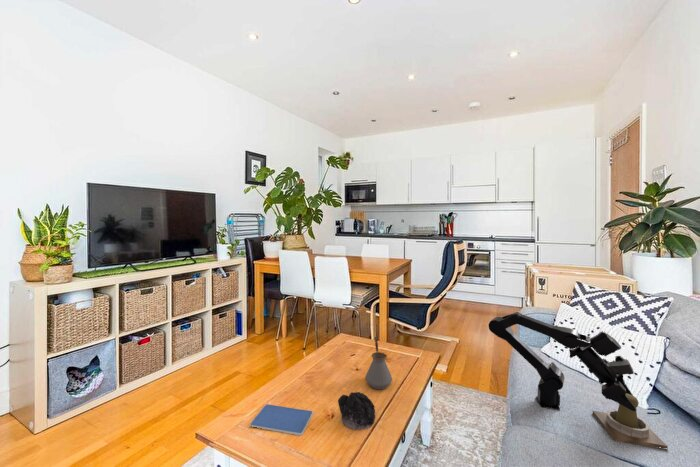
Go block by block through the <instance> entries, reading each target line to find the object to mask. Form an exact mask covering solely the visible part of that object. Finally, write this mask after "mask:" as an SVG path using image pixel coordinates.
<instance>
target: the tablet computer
mask: <svg viewBox="0 0 700 467" xmlns="http://www.w3.org/2000/svg"><path fill="white" fill-rule="evenodd" d="M313 416H314V411H313V410H308V409H301V408H295V407H287V406H281V405H277V404H276V405H275V404H274V405H273V404H265V405H263V407H262V408H261V409H260V411H259V412H258V413H257V414H256V415H255V417H254V418H253V420H252V421H251V422H250V423H249V427H250V426H252V427H251V428H253V427H257V428H256V429H260V428H262V429H261V430H266V429H267V431H272V432H278V433H282V434H283V433H284V434H289V435H294V436H299V437H301V436H303V435H304V433H305V431H306V429H307V427H308V426H309V423H310V421H311V419H312V417H313Z"/></svg>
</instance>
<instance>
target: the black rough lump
mask: <svg viewBox="0 0 700 467" xmlns="http://www.w3.org/2000/svg"><path fill="white" fill-rule="evenodd" d="M337 405H338V407H339V412H340V414H341V422H342V424H343V425H345V426H346V427H347V428H348V429H351V430H353V431H354V430H368V429H370V428H371V427H372V426H373V424H374V422H375V420H376V411H375V410H376V409H375V405H374V402H373V401H372V400H371V399H370V398H369V397H368V396H367V395H366V394H365V393H362V392H360V391H357V392H350V393H349V395H346V394H342V395H341V396H340V397H339V398H338V400H337Z"/></svg>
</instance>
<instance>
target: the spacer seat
mask: <svg viewBox="0 0 700 467" xmlns="http://www.w3.org/2000/svg"><path fill="white" fill-rule="evenodd" d="M617 412H618V409H611V410H607V412H605V411H597V410H592V415H593V417H594V418H595V419H596V418H597V419H596V420H597V421H598V422H599V424H600V425H601V426H602V428H603V429H604V430H605V431H606V433H607V434H608V435H609V437H610V438H611V439H612V440H613V441H614V442H615V441H616V442H623V443H627V444H633V445H638V446H644V445H645V446H644V447H651V448H655V447H658V448H657V449H661V448H667V449H668V447H669V446H668V444H666V443H665V442H664V441H663V439H661V438H660V437H659V436H658V435H657V434H656V433H655V432H654V431H653V430H652V429H651V428H650V425H649V423H648V422H646V421H645V420H644V419H643V418H640V417H639V416H637V420H638V428H639V429H636V428H631V427H628V426H625V425H622V424H620V423H619V422H617V421H615V420H616V416H617ZM659 447H661V448H659Z"/></svg>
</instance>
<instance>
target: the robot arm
mask: <svg viewBox="0 0 700 467" xmlns="http://www.w3.org/2000/svg"><path fill="white" fill-rule="evenodd" d="M515 325H519V326H521V327H524V328H527V329H529V330H532V331H534V332H537V333H540V334H542V335H544V336H548V337H550V338H551V339H553V340H554V341H556V342H557V343H558V344H560V345H562V346H564V347H566V348H568V350H569V358H570V359H572V358H574V357H577V358H578V359H579V360H580V362H582V364H584V366H585V367H586V368H587V369H588V372H589V373H590V374H593V375H594V376H595V377H596V379H598V383H599V384H600V385H601V389H600V390H601V394H602V396H603V398H605V399H606V400H611V401H613V402H615V403H616V404H618V405H619V404H621V405H623V406H624V407H626V408H628V409H630V410H632V411H636V412H637V407H636V408H635V406H634V405H633V404H632V402H631V401H630V400H629V398H628V397H627V396H626V393H627V394H630V395H633V393H632V391H631V390H630V389H629V387H628V385H627V384H626V383H625V380H624V375H634V373H635V372H634V369H633V367H632V364H631V363H630V361H629V359H627V358H624V357H622V355H616V356H615V360H612V361H608V360H607V359H606V358H602V357H607V356H609V355H611V354H613V353H615V352H617V351H620V349H622V345H620V343H619V342H618V341H617V340H616V339H615V338H614V337H613V336H611V335H610V334H608V333H607V332H606V331H605V330H601V331H600V332H598V333H597V334H596V335H593V336H592V337H591V336H589V335H587V334H583V333H580V332H579V331H578V330H576V329H574V328H570V327H566V326H557V325H552V324H550V323H547V322H545V321H541V320H538V319H536V318H533V317H530V316H528V315H525V314H523V313H521V312H518V311H514V312H513V313H511V314H507V315H504V316H494V317H493V318H492V319H491V320H490V321H489V323H488V330H489V331H490V332H491V333H492V334H494V335H495V336H496V337H497V338H500V339H502V340H504V341H506V343H508V344H509V346H511V347H512V348H513V349H514V350H515V351H516V352H517V353H518V354H519V355H520V356H521V357H522V358H523V359H525V361H527V362H528V363H529V365H531V366H532V367H533V368H534V369H535V370H536V372H537V374H538V376H539V377H540V379H539V382H538V385H537V396H535V399H536V401H537V402H538V404H539V406H540V407H541V408H546V409H553V410H559V411H560V410H561V407H560V405H561V395H560V390H561V389H562V388H563V387H564V383H565V375H564V373H563V370H562V369H561V368H560V367H558V366H557V364H555V363H554V362H553V361H552V362H550V363H548V362H546V361H545V360H544V359H543V358H541V357H540V355H538V354H537V353H536V352H535V351H534V350H533V349H532V348H531V347H530V346H529V345H528V344H526V342H524V341H523V340H522V339H521V338H520V337H519V336H518V335H517V334H516V333H514V330H513V329H512V327H513V326H515ZM601 356H602V357H601Z"/></svg>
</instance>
